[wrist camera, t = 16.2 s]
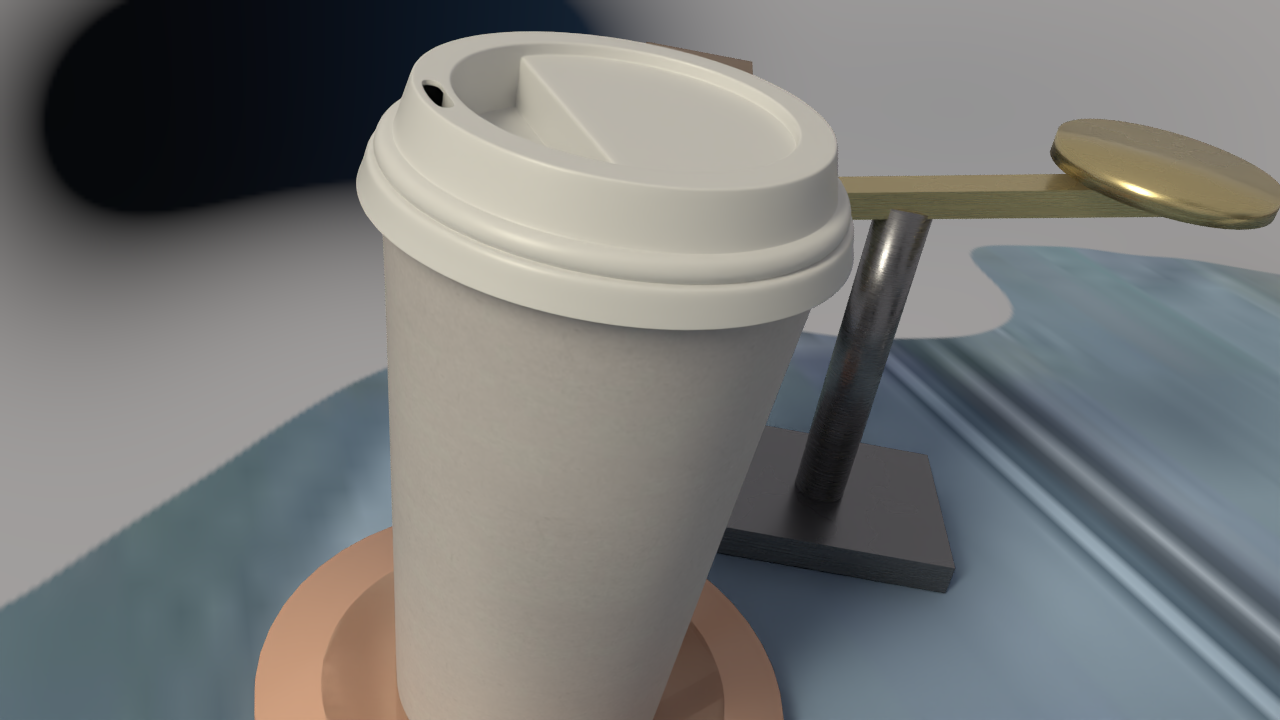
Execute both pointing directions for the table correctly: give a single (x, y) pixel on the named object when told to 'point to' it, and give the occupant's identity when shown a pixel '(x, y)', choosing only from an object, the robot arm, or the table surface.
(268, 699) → the dish
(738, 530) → the balance
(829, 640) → the table surface
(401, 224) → the coffee cup
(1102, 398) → the table surface
